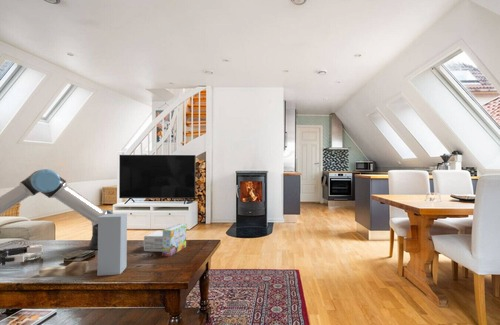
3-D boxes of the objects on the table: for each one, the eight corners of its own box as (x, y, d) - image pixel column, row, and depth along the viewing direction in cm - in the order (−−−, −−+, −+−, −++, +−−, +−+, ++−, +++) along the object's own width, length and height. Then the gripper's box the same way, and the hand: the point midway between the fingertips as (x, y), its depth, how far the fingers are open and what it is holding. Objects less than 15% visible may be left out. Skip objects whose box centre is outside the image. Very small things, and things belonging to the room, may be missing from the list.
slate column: (97, 275, 126) (98, 217, 127) (105, 268, 135) (106, 214, 136) (120, 274, 127) (120, 216, 128) (126, 266, 137) (127, 213, 138)
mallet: (36, 278, 123) (36, 268, 123) (45, 272, 130) (45, 263, 130) (81, 275, 126) (81, 265, 126) (88, 270, 133) (88, 261, 133)
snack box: (170, 257, 153) (170, 230, 153) (161, 256, 154) (161, 229, 155) (186, 246, 174) (186, 223, 174) (178, 246, 175) (178, 223, 175)
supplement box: (164, 252, 163) (164, 236, 164) (143, 251, 165) (143, 236, 165) (174, 244, 180) (174, 230, 181) (155, 244, 181) (155, 230, 182)
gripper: (2, 256, 135) (48, 253, 139) (-44, 275, 111) (14, 271, 114) (2, 241, 136) (49, 239, 139) (-44, 256, 111) (14, 253, 114)
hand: (33, 253), depth 126 cm, fingers open, 13 cm apart
